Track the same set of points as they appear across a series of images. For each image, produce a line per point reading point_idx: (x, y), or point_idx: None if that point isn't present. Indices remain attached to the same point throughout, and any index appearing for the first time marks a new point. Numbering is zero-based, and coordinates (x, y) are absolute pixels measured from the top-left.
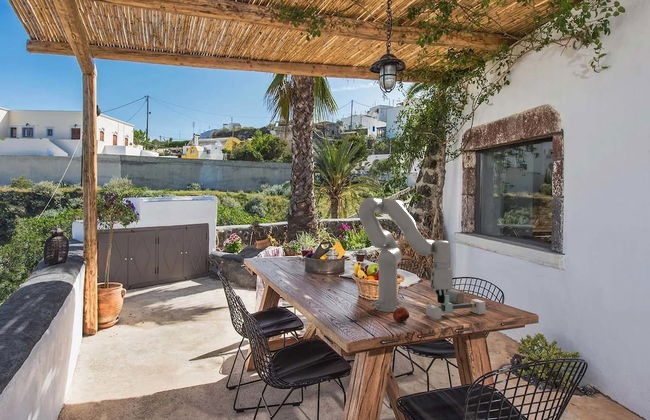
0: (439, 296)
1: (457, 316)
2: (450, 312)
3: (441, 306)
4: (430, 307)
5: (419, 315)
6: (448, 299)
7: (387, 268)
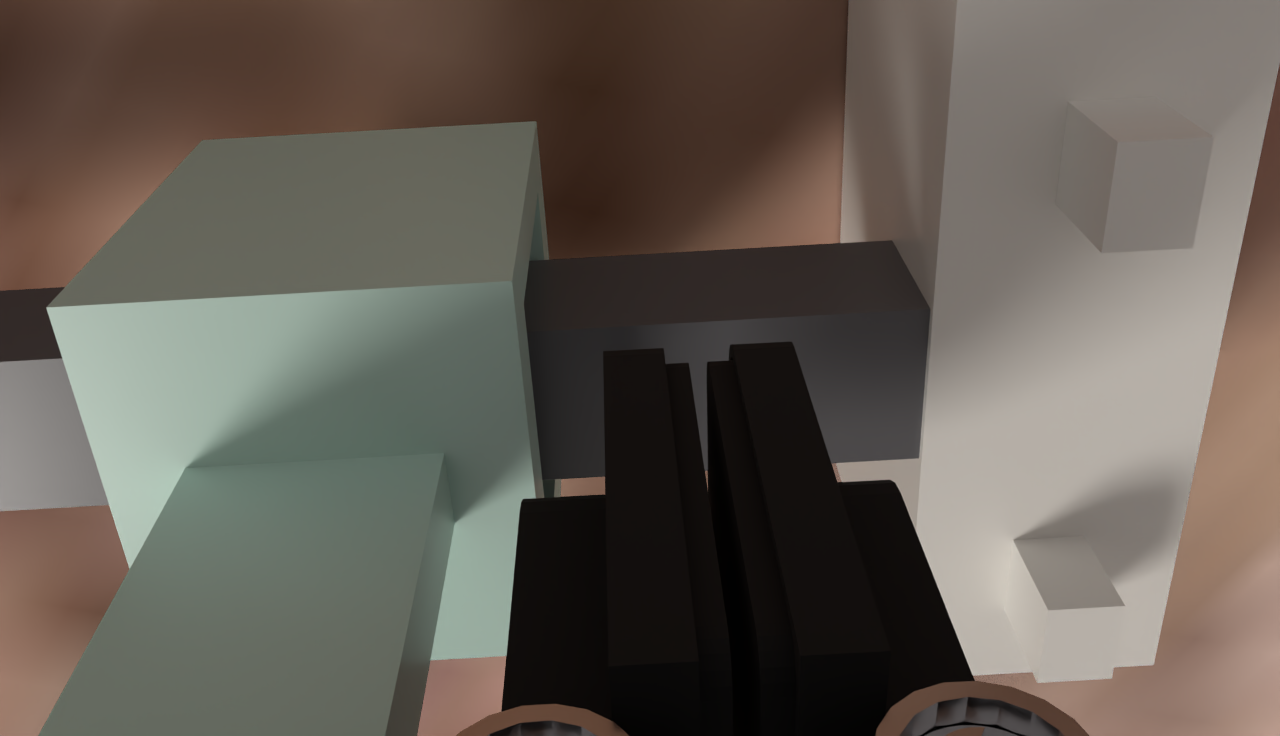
0: (965, 677)
1: (40, 52)
2: (296, 143)
3: None
4: (1189, 402)
5: (1254, 443)
6: (170, 589)
7: None
